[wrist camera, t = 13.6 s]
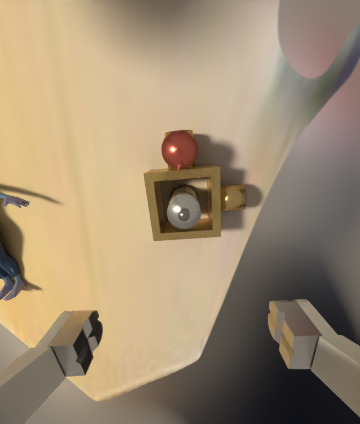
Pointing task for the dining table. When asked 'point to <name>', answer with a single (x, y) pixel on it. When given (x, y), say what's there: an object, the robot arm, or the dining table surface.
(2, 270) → the figurine
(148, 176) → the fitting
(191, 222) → the cylinder
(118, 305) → the dining table surface
